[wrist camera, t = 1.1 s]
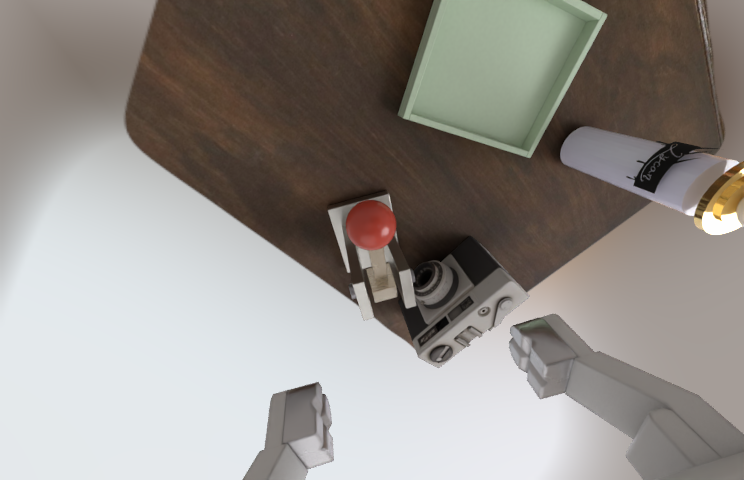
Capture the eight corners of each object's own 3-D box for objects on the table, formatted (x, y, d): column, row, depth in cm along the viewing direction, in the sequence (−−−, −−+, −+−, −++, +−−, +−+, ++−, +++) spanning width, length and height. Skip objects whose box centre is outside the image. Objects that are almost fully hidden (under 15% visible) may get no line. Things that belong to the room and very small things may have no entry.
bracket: (326, 205, 33) (333, 266, 23) (387, 189, 34) (418, 243, 24) (346, 267, 38) (359, 340, 28) (399, 253, 39) (429, 320, 29)
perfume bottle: (607, 134, 35) (884, 203, 18) (570, 177, 37) (788, 274, 20) (577, 109, 33) (862, 159, 16) (541, 156, 35) (756, 244, 18)
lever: (336, 196, 18) (347, 240, 17) (387, 183, 18) (402, 225, 17) (363, 277, 29) (371, 308, 28) (394, 269, 30) (403, 299, 28)
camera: (453, 217, 37) (495, 263, 29) (489, 251, 41) (535, 300, 32) (377, 289, 41) (394, 349, 33) (416, 314, 45) (441, 373, 36)
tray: (397, 114, 30) (402, 118, 28) (451, -56, 24) (462, -65, 22) (518, 153, 34) (530, 158, 32) (589, 17, 28) (608, 14, 27)
